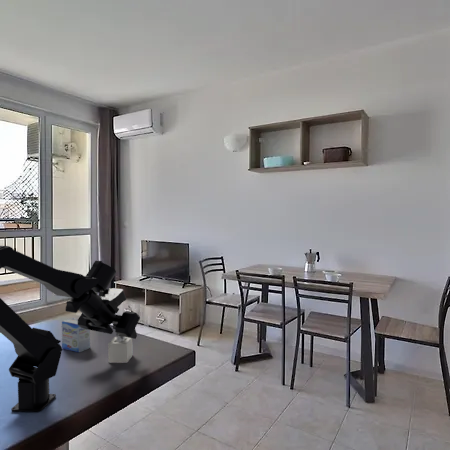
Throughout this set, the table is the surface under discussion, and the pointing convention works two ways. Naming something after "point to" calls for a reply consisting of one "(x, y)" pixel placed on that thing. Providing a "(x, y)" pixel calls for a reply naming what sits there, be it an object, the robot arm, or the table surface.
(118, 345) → the press block
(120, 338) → the plunger
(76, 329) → the medicine box
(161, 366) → the table surface
